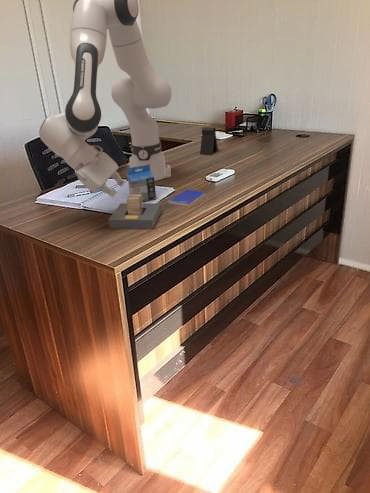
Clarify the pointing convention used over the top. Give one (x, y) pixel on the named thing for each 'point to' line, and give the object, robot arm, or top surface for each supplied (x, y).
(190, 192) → the hard drive
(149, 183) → the label tape box
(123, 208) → the block
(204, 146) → the phone stand
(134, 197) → the birch peg
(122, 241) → the top surface
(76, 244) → the top surface
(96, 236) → the top surface
